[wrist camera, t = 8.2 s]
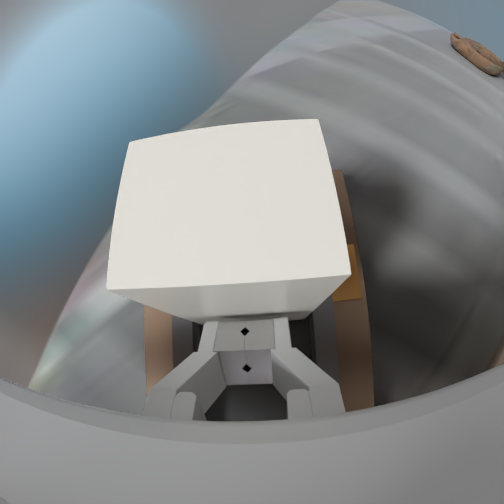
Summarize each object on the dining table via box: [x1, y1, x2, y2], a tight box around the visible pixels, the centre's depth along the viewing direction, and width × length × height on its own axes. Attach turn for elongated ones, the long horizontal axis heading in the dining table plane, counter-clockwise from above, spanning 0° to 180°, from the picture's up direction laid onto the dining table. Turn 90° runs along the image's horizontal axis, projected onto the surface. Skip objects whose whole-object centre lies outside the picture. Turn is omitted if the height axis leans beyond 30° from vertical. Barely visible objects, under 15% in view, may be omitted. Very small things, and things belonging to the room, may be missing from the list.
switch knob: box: [106, 119, 351, 325], centre depth 10 cm, size 4×5×9 cm
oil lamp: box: [451, 33, 504, 75], centre depth 22 cm, size 13×8×5 cm, turn 58°
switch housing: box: [145, 170, 374, 421], centre depth 14 cm, size 22×12×4 cm, turn 3°
